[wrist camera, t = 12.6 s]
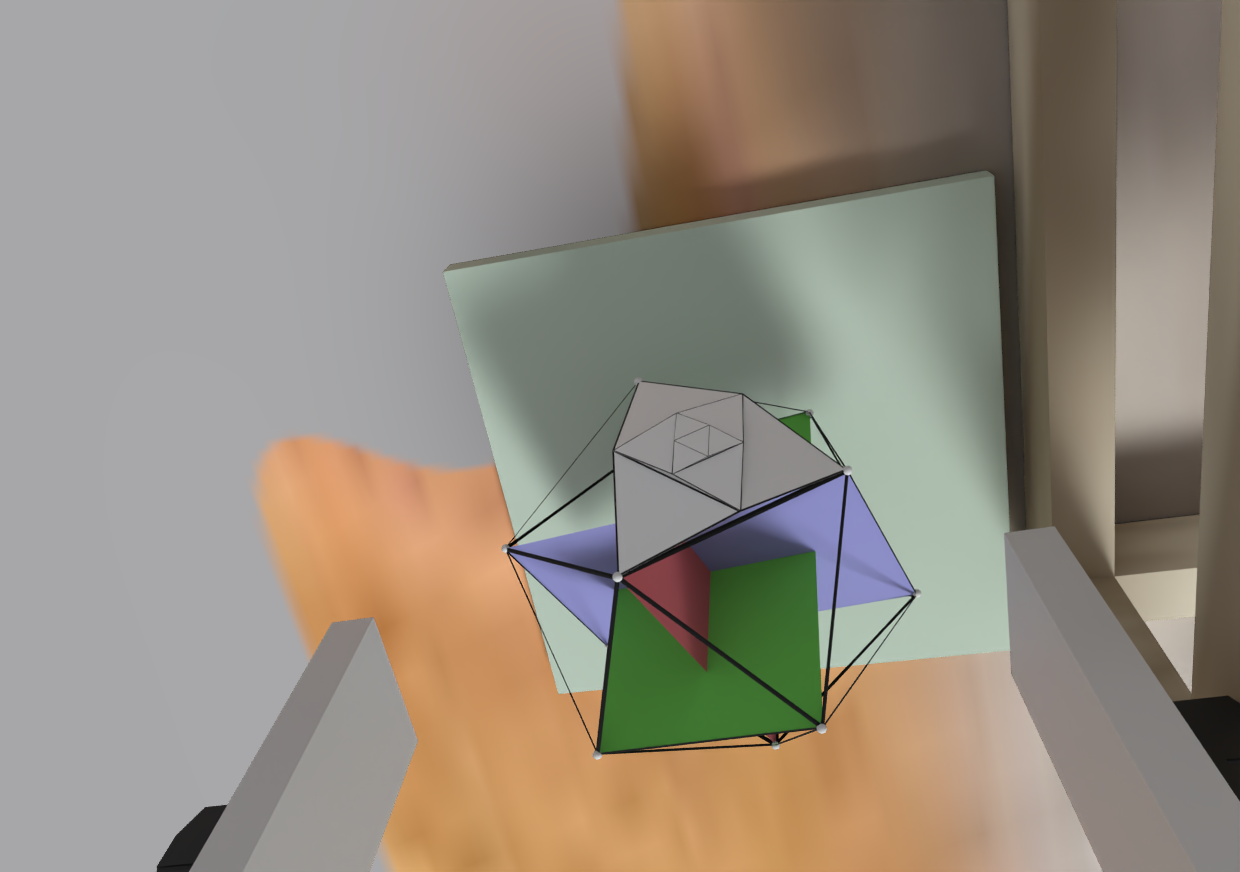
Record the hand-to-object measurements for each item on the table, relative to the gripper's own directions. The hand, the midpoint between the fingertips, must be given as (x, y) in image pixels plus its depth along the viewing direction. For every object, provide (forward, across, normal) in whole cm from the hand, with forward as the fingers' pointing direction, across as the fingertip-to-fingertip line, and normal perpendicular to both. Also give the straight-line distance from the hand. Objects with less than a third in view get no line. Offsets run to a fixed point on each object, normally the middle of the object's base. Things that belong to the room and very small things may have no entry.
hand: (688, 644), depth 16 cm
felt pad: (+7, -1, 0) cm, 7 cm away
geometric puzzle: (+6, -1, 0) cm, 6 cm away
